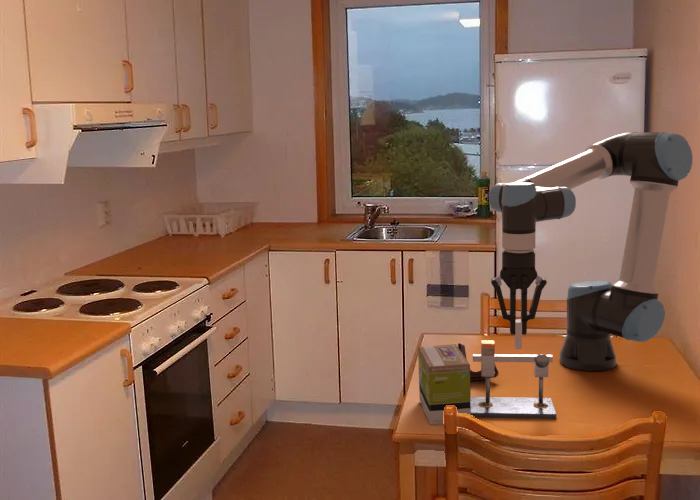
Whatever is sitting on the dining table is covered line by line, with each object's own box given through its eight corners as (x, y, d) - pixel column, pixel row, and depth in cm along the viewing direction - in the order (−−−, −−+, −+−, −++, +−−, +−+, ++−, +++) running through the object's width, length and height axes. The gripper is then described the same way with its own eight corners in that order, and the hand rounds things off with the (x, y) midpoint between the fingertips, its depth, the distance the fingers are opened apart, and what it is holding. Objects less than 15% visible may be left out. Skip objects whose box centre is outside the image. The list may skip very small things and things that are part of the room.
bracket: (497, 376, 201) (490, 338, 204) (433, 385, 206) (428, 348, 208) (500, 377, 207) (494, 340, 209) (438, 385, 212) (433, 349, 214)
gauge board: (550, 402, 190) (550, 397, 190) (556, 419, 180) (556, 413, 180) (468, 401, 192) (468, 396, 192) (469, 417, 183) (469, 412, 182)
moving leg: (493, 400, 188) (493, 340, 185) (494, 404, 185) (494, 343, 182) (481, 400, 188) (481, 340, 185) (481, 404, 185) (481, 343, 183)
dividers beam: (550, 401, 186) (551, 351, 184) (552, 405, 183) (553, 355, 181) (472, 400, 188) (472, 350, 186) (473, 404, 186) (473, 354, 183)
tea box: (418, 401, 193) (417, 345, 190) (457, 399, 194) (457, 342, 191) (429, 426, 179) (428, 365, 176) (472, 423, 179) (471, 362, 177)
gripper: (545, 246, 182) (544, 342, 186) (489, 246, 183) (489, 342, 188) (549, 252, 174) (548, 352, 179) (490, 253, 176) (491, 352, 180)
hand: (518, 347), depth 183 cm, fingers closed
